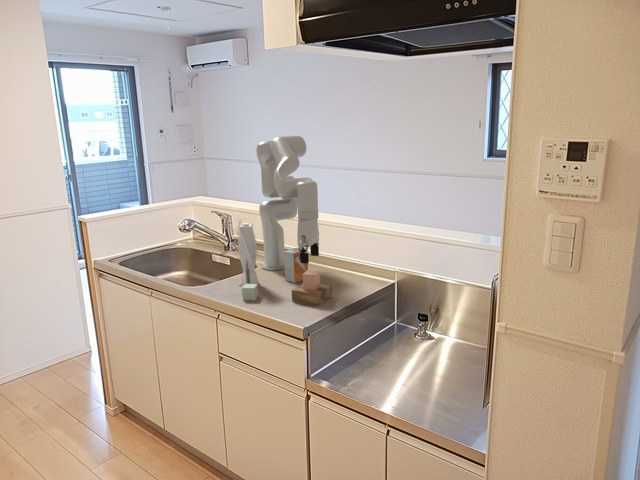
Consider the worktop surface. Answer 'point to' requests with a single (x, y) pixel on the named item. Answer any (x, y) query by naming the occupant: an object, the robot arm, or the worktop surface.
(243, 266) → the skyscraper
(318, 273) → the terracotta block
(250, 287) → the sage cube
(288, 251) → the small box
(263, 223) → the robot arm
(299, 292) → the walnut block
